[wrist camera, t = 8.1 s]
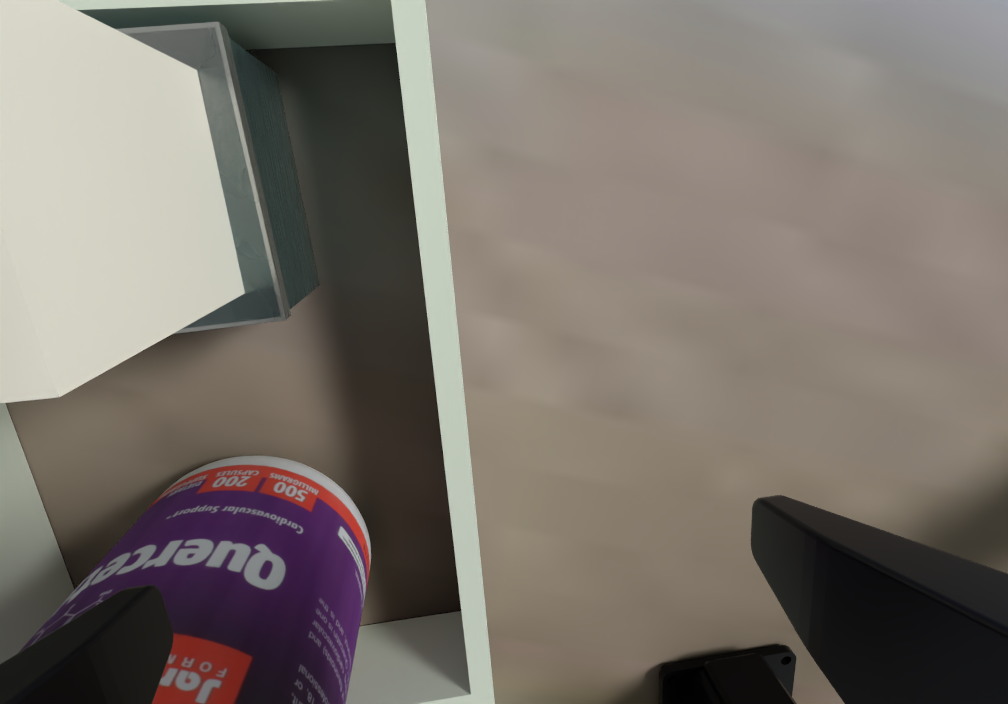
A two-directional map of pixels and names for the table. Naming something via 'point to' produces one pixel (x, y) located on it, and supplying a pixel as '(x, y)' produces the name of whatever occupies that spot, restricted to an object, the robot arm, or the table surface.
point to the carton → (100, 200)
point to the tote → (457, 635)
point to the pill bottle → (245, 583)
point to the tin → (247, 171)
